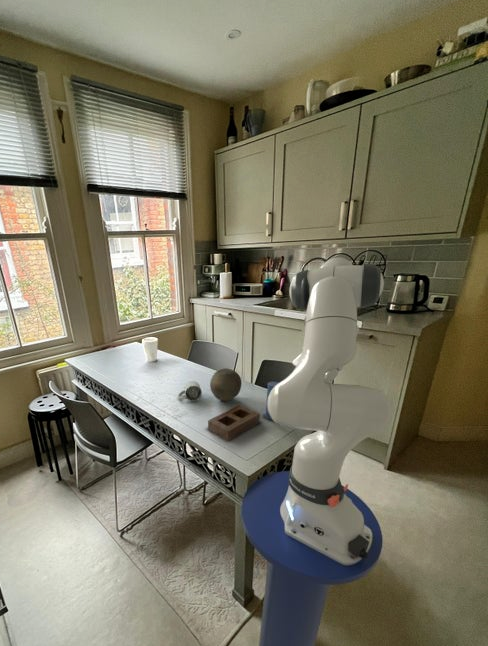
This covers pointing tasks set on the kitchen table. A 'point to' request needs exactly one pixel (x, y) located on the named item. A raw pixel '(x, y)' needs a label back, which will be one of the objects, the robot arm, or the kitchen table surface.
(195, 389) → the ceramic mug
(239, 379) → the cantaloupe
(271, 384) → the peg
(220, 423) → the peg block
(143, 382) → the kitchen table surface
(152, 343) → the foam cup
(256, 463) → the kitchen table surface
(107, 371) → the kitchen table surface
